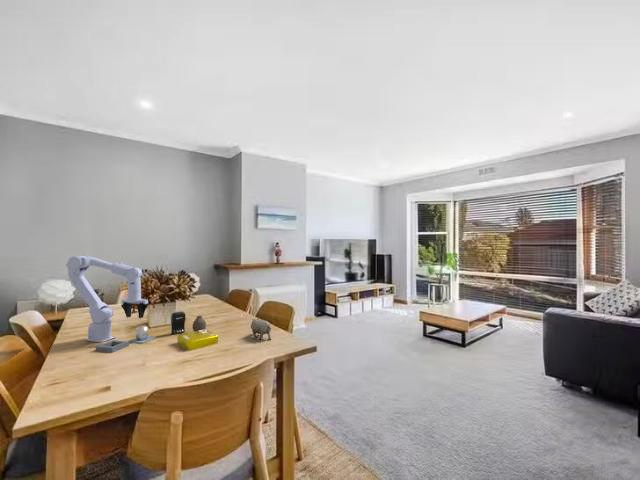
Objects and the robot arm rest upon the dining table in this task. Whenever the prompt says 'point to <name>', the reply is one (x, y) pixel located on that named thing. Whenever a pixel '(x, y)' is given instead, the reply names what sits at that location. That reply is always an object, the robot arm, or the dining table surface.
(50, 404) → the dining table surface
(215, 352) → the dining table surface
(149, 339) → the mat
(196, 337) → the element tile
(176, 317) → the battery charger
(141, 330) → the shiny metal cylinder
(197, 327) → the vase
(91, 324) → the robot arm
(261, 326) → the rhinoceros figurine
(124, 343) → the frame
